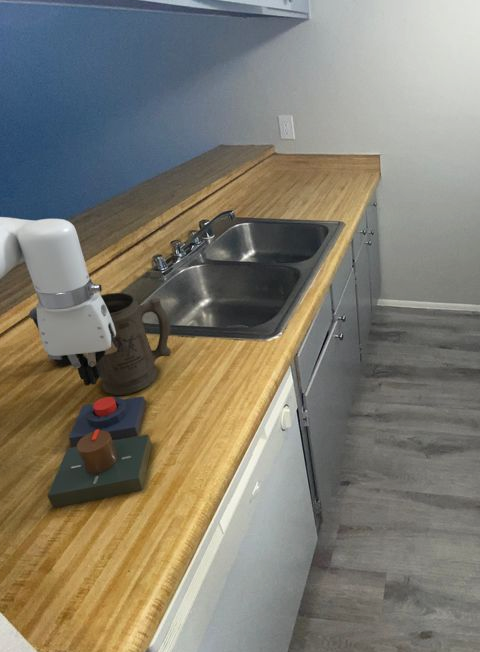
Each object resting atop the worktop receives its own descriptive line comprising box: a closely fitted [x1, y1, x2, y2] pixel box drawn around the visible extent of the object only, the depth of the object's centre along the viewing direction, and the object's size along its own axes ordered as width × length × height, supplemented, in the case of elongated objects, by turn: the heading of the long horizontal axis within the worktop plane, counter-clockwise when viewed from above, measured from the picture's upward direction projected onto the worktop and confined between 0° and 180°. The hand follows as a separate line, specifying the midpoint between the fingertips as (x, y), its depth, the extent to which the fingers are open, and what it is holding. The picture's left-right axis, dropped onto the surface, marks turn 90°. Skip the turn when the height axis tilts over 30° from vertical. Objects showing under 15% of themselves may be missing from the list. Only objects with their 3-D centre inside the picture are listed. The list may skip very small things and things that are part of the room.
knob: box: [76, 429, 118, 474], centre depth 79 cm, size 5×5×5 cm
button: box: [93, 396, 117, 417], centre depth 90 cm, size 4×4×2 cm
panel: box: [47, 433, 153, 509], centre depth 81 cm, size 13×10×3 cm
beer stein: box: [99, 292, 172, 396], centre depth 101 cm, size 15×11×20 cm
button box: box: [68, 395, 147, 448], centre depth 91 cm, size 11×9×4 cm
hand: (92, 380), depth 87 cm, fingers closed
